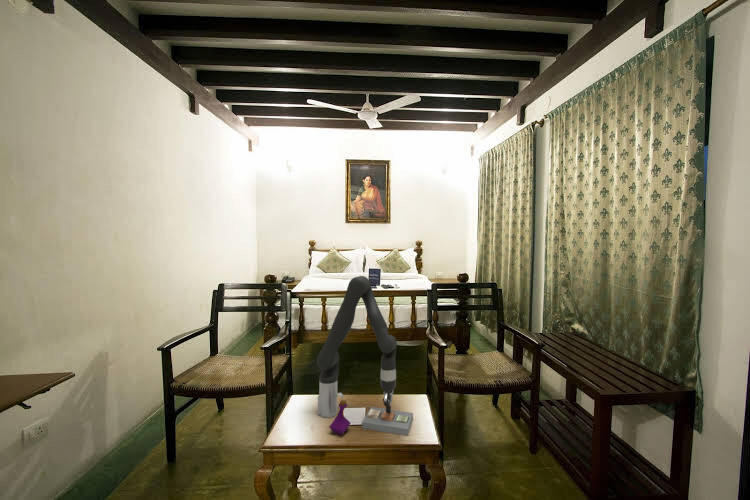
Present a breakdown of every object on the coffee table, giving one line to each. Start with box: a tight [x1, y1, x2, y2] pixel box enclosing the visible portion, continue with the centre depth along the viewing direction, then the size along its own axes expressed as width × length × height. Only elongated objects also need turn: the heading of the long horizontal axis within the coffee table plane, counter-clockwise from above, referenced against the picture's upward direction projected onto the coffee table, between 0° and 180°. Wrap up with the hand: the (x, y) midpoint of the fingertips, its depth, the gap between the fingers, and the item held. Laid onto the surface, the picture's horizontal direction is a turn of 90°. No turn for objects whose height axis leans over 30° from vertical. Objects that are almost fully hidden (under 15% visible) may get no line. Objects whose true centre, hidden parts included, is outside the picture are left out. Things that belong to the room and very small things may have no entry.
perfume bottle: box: [328, 392, 352, 436], centre depth 154 cm, size 8×8×18 cm
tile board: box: [361, 406, 414, 437], centre depth 161 cm, size 22×15×3 cm
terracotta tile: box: [382, 411, 394, 421], centre depth 161 cm, size 5×5×2 cm
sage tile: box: [396, 415, 408, 423], centre depth 160 cm, size 5×5×2 cm
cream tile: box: [367, 409, 381, 419], centre depth 163 cm, size 5×5×2 cm
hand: (388, 412), depth 161 cm, fingers closed
